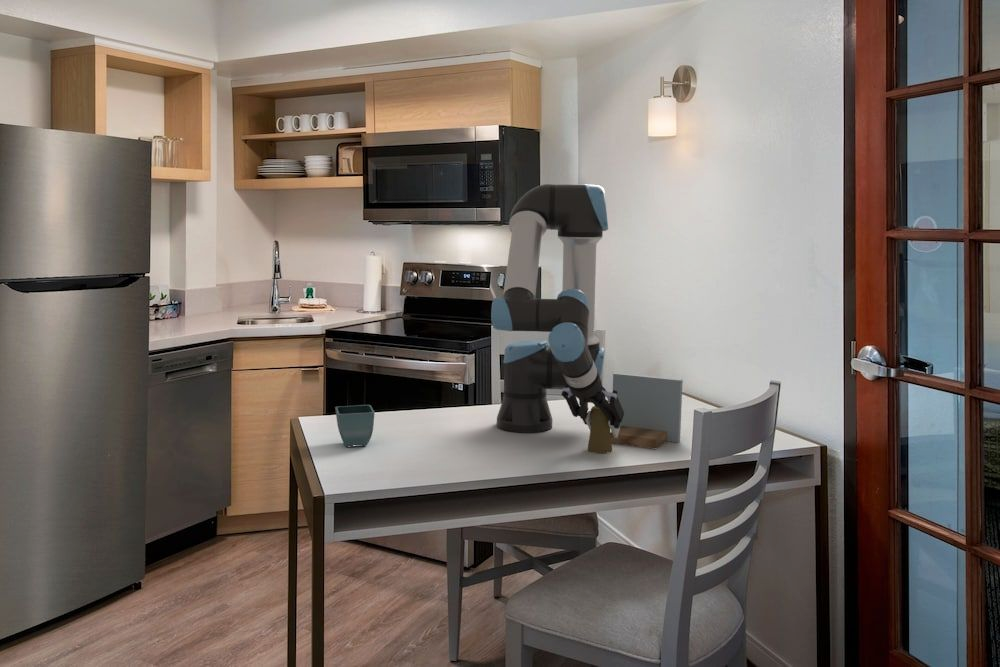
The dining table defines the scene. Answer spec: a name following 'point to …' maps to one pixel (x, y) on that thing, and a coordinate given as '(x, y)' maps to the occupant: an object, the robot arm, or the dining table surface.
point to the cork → (599, 432)
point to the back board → (650, 403)
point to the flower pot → (355, 424)
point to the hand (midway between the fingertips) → (605, 431)
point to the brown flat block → (640, 437)
